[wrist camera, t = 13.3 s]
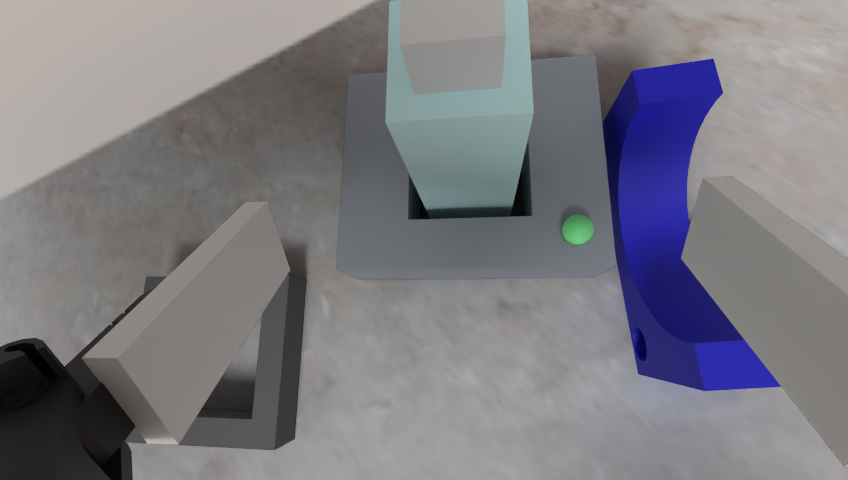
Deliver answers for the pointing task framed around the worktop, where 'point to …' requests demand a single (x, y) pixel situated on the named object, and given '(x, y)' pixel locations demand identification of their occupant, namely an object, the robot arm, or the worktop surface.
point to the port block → (487, 236)
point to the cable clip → (668, 232)
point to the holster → (259, 381)
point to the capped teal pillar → (460, 101)
